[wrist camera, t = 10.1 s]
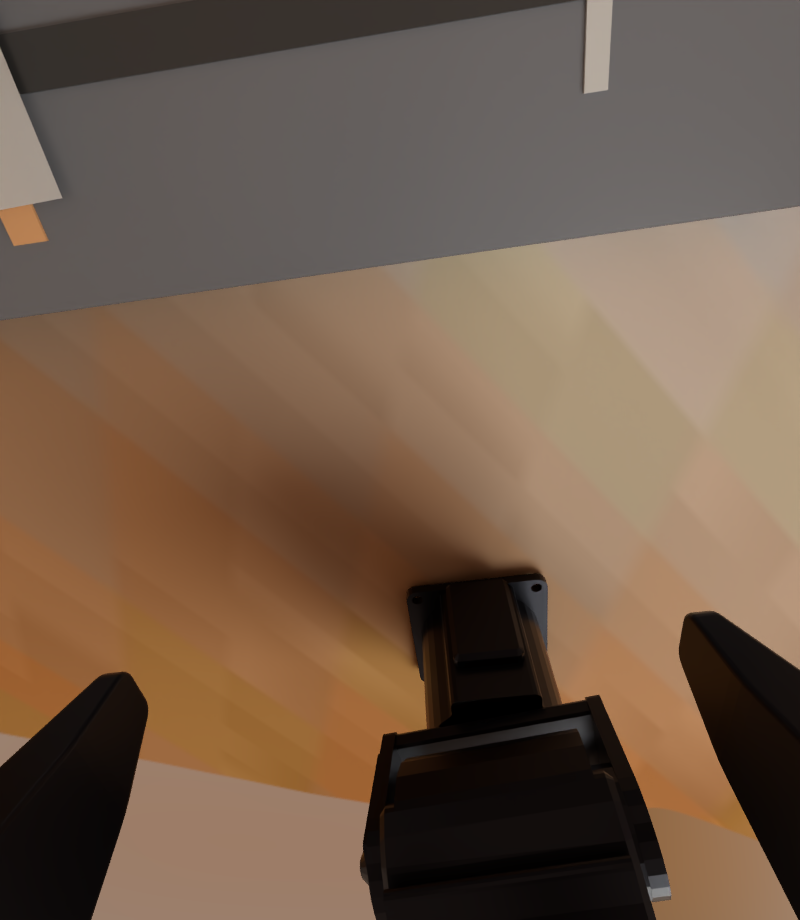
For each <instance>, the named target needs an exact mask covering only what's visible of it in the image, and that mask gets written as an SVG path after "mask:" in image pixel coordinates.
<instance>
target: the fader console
mask: <svg viewBox="0 0 800 920" xmlns="http://www.w3.org/2000/svg"><path fill="white" fill-rule="evenodd" d="M0 48H1V51H2V53H3V56H4V58H5V60H6V63H7V65H8V68H9V70H10V72H11V75H12V77H13V80H14V82H15V85H16V87H17V89H18V92H19V94H20V97H21V99H22V101H23V104H24V106H25V109H26V111H27V114H28V116H29V118H30V121H31V123H32V126H33V128H34V130H35V133H36V135H37V138H38V140H39V143H40V145H41V147H42V150H43V152H44V155H45V157H46V159H47V162H48V164H49V167H50V169H51V172H52V174H53V176H54V179H55V181H56V184H57V186H58V188H59V191H60V193H61V196H62V198H61V199H55V200H50V201H45V202H40V203H35V204H29V205H24V206H19V207H14V208H9V209H4V210H0V320H6V319H13V318H20V317H27V316H34V315H41V314H48V313H55V312H62V311H69V310H76V309H83V308H90V307H97V306H104V305H111V304H118V303H125V302H132V301H139V300H146V299H153V298H160V297H167V296H174V295H181V294H188V293H195V292H202V291H209V290H216V289H223V288H230V287H237V286H244V285H251V284H258V283H265V282H272V281H279V280H286V279H293V278H300V277H307V276H314V275H321V274H328V273H335V272H342V271H349V270H356V269H363V268H370V267H377V266H384V265H391V264H398V263H405V262H412V261H419V260H426V259H433V258H440V257H447V256H454V255H461V254H468V253H475V252H482V251H490V250H497V249H504V248H511V247H518V246H525V245H532V244H539V243H546V242H553V241H560V240H567V239H574V238H581V237H588V236H595V235H602V234H609V233H616V232H623V231H630V230H637V229H644V228H651V227H658V226H665V225H672V224H679V223H686V222H693V221H700V220H707V219H714V218H721V217H728V216H735V215H742V214H749V213H756V212H763V211H770V210H777V209H784V208H791V207H798V206H800V0H0Z"/></svg>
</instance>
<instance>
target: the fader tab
mask: <svg viewBox="0 0 800 920" xmlns="http://www.w3.org/2000/svg"><path fill="white" fill-rule="evenodd" d="M61 198H62V196H61V193H60V191H59V188H58V186H57V184H56V181H55V179H54V176H53V174H52V172H51V169H50V167H49V164H48V162H47V159H46V157H45V155H44V152H43V150H42V147H41V145H40V143H39V140H38V138H37V135H36V133H35V130H34V128H33V126H32V123H31V121H30V118H29V116H28V114H27V111H26V109H25V106H24V104H23V101H22V99H21V97H20V94H19V92H18V89H17V87H16V85H15V82H14V80H13V77H12V75H11V72H10V70H9V68H8V65H7V63H6V60H5V58H4V56H3V53H2V51H1V48H0V210H4V209H9V208H14V207H19V206H24V205H29V204H35V203H40V202H45V201H50V200H55V199H61Z"/></svg>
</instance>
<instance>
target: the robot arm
mask: <svg viewBox="0 0 800 920" xmlns="http://www.w3.org/2000/svg"><path fill="white" fill-rule="evenodd" d="M534 584H538V585H536V586H533V585H534ZM416 596H419V598H415V597H416ZM547 600H548V586H547V583H546V580H545V577H544V576H543V575H540V574H528V575H518V576H509V577H499V578H490V579H480V580H471V581H461V582H452V583H443V584H433V585H424V586H415V587H412V588H410V589H409V590H408V591H407V605H408V611H409V616H410V622H411V627H412V633H413V639H414V644H415V650H416V655H417V661H418V667H419V672H420V678H421V680H423V681H424V684H425V703H426V721H427V729H424V730H418V731H413V732H408V733H402V734H397V732H394V733H389V734H384V735H383V738H382V744H381V750H380V754H378V758H377V764H376V770H375V775H374V781H373V787H372V793H371V799H370V805H369V811H368V816H367V822H366V829H365V834H364V840H363V854H362V856H361V860H360V872H361V876H362V878H363V880H364V881H365V882H366V883H367V884H368V885H369V889H370V895H371V900H372V905H373V909H374V914H375V917H376V920H656V917H655V914H654V911H653V907H652V904H651V901H652V902H657V901H665V900H671V890H670V885H669V880H668V876H667V872H666V868H665V864H664V861H663V857H662V854H661V850H660V847H659V843H658V840H657V837H656V834H655V831H654V828H653V825H652V822H651V819H650V816H649V813H648V810H647V807H646V804H645V802H644V799H643V796H642V794H641V791H640V788H639V786H638V783H637V781H636V778H635V776H634V774H633V771H632V769H631V767H630V765H629V762H628V760H627V758H626V755H625V753H624V751H623V748H622V746H621V744H620V741H619V739H618V737H617V735H616V732H615V730H614V728H613V725H612V723H611V721H610V718H609V716H608V714H607V712H606V709H605V707H604V705H603V702H602V700H601V698H600V696H599V695H595V696H590V697H585V700H582V701H576V702H571V703H566V704H562V702H561V698H560V695H559V691H558V688H557V685H556V681H555V678H554V674H553V671H552V668H551V664H550V661H549V657H548V654H547ZM679 657H680V661H681V664H682V667H683V670H684V672H685V675H686V677H687V680H688V683H689V685H690V688H691V690H692V693H693V696H694V698H695V701H696V703H697V706H698V709H699V711H700V714H701V717H702V719H703V722H704V724H705V727H706V730H707V732H708V735H709V737H710V740H711V743H712V745H713V748H714V750H715V753H716V755H717V758H718V760H719V762H720V764H721V767H722V769H723V771H724V773H725V775H726V777H727V779H728V781H729V783H730V785H731V787H732V789H733V791H734V793H735V795H736V797H737V799H738V801H739V803H740V805H741V807H742V809H743V811H744V813H745V815H746V817H747V819H748V821H749V823H750V825H751V827H752V829H753V831H754V833H755V835H756V837H757V839H758V841H759V843H760V845H761V847H762V848H763V851H764V852H765V854H766V856H767V858H768V860H769V862H770V864H771V866H772V868H773V870H774V872H775V874H776V876H777V878H778V880H779V882H780V884H781V886H782V888H783V890H784V892H785V894H786V896H787V898H788V900H789V902H790V904H791V906H792V908H793V910H794V912H795V914H796V915H797V918H798V920H800V670H799V669H798V668H796V667H795V666H794V665H792V664H791V663H789V662H788V661H786V660H785V659H784V658H782V657H781V656H779V655H778V654H776V653H775V652H773V651H772V650H771V649H769V648H768V647H766V646H765V645H763V644H762V643H761V642H759V641H758V640H756V639H755V638H753V637H752V636H751V635H749V634H748V633H746V632H745V631H743V630H742V629H741V628H739V627H738V626H736V625H735V624H733V623H732V622H730V621H729V620H728V619H726V618H725V617H723V616H722V615H720V614H719V613H717V612H714V611H703V612H693V613H688V614H687V615H686V616H685V618H684V622H683V628H682V633H681V639H680V644H679ZM147 717H148V705H147V701H146V699H145V697H144V696H143V694H142V692H141V691H140V689H139V687H138V686H137V684H136V682H135V681H134V679H133V678H132V676H131V675H130V674H129V673H127V672H116V673H107V674H103V675H101V676H99V677H98V678H97V679H95V680H94V681H93V682H92V683H91V684H90V685H89V686H88V687H87V688H86V689H85V690H83V691H82V692H81V693H80V694H79V695H78V696H77V697H76V698H75V699H74V700H73V701H71V702H70V703H69V704H68V705H67V706H66V707H65V708H64V709H63V710H62V711H61V712H60V713H58V714H57V715H56V716H55V717H54V718H53V719H52V720H51V721H50V722H49V723H48V724H46V725H45V726H44V727H43V728H42V729H41V730H40V731H39V732H38V733H37V734H36V735H34V736H33V737H32V738H31V739H30V740H29V741H28V742H27V743H26V744H25V745H24V746H22V747H21V748H20V749H19V750H18V751H17V752H16V753H15V754H14V755H13V756H12V757H11V758H9V759H8V760H7V761H6V762H5V763H4V764H3V765H2V766H1V767H0V920H91V919H92V916H93V913H94V909H95V906H96V903H97V900H98V897H99V894H100V891H101V888H102V885H103V882H104V879H105V876H106V873H107V869H108V866H109V863H110V860H111V857H112V854H113V851H114V848H115V845H116V842H117V839H118V836H119V833H120V829H121V826H122V823H123V820H124V816H125V813H126V809H127V805H128V801H129V797H130V793H131V789H132V784H133V780H134V775H135V771H136V766H137V762H138V758H139V753H140V749H141V744H142V740H143V735H144V731H145V727H146V722H147Z"/></svg>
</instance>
